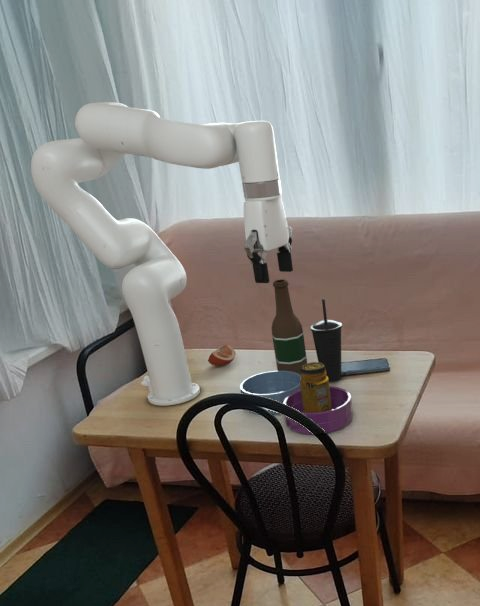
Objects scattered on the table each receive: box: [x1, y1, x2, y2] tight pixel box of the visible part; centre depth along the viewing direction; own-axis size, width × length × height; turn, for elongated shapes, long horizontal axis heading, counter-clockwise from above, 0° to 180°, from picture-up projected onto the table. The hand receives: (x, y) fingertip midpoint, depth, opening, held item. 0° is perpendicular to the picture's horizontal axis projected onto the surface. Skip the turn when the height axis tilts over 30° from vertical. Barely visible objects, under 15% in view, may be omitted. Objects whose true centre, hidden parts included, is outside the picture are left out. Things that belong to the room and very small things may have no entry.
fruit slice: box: [207, 343, 236, 367], centre depth 170 cm, size 8×7×5 cm
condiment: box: [300, 361, 332, 413], centre depth 133 cm, size 7×8×12 cm
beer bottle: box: [271, 279, 308, 375], centre depth 155 cm, size 8×8×24 cm
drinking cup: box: [309, 298, 343, 384], centre depth 152 cm, size 8×8×20 cm
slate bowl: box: [239, 370, 302, 415], centre depth 146 cm, size 14×14×5 cm
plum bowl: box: [283, 385, 354, 436], centre depth 135 cm, size 14×14×5 cm
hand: (274, 276), depth 134 cm, fingers open, 9 cm apart
